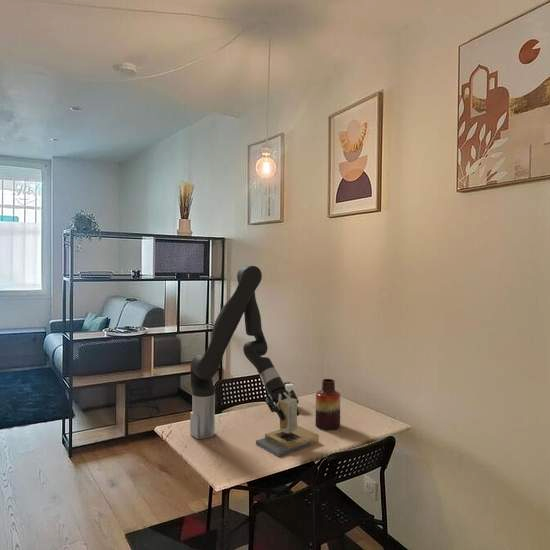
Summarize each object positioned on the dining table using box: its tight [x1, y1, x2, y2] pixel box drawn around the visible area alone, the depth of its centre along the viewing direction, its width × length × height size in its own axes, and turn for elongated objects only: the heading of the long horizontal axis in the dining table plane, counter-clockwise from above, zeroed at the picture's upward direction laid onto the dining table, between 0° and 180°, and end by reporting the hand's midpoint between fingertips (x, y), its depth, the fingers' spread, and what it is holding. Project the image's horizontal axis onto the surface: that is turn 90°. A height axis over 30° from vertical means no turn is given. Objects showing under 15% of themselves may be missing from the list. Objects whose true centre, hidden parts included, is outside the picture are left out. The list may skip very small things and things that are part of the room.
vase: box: [314, 378, 342, 432], centre depth 195 cm, size 11×11×20 cm
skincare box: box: [279, 397, 298, 433], centre depth 176 cm, size 6×4×12 cm
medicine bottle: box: [283, 381, 299, 406], centre depth 219 cm, size 7×7×12 cm
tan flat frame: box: [255, 425, 320, 458], centre depth 177 cm, size 21×14×3 cm, turn 129°
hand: (290, 417), depth 175 cm, fingers closed on skincare box, 6 cm apart
